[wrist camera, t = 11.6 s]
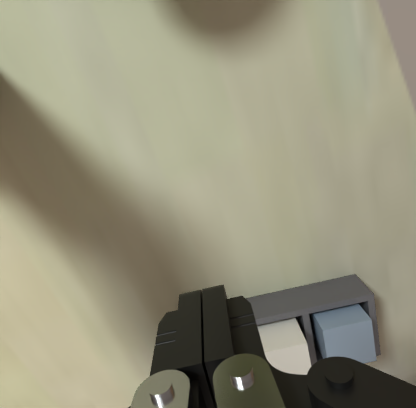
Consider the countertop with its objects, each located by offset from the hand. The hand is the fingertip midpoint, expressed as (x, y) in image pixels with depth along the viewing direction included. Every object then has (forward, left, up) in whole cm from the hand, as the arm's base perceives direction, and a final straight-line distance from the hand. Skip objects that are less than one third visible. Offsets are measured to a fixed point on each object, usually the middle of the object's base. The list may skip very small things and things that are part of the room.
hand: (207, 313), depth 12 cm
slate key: (+11, -20, -25) cm, 34 cm away
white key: (+4, -20, -23) cm, 31 cm away
